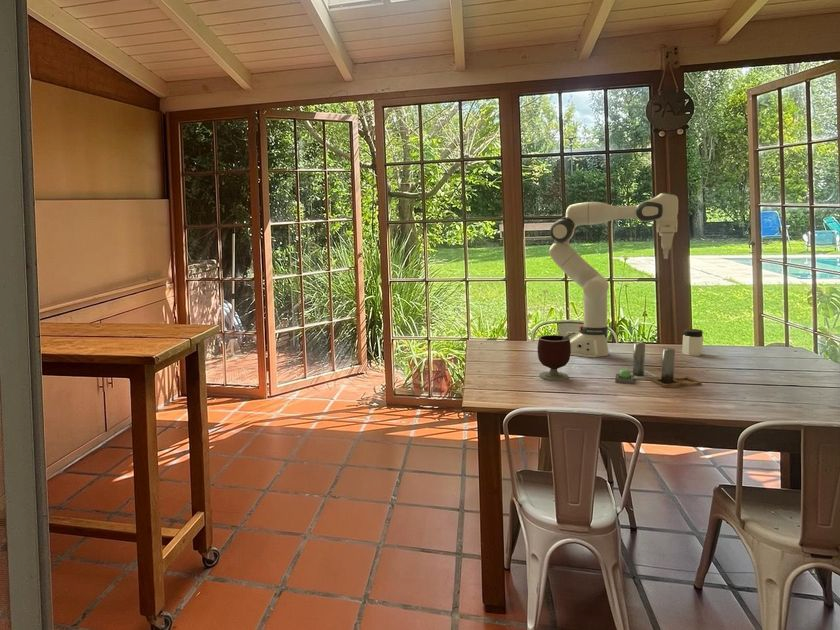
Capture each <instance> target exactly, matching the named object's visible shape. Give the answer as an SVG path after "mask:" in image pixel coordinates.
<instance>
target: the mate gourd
mask: <svg viewBox="0 0 840 630" xmlns="http://www.w3.org/2000/svg"><path fill="white" fill-rule="evenodd" d="M573 335H576V331H574V332H570V333H568V334H566V335H561V334H560V335H559V334H557V335H556V334H548V335H547V334H546V335H541V336H539V337H538V342H537V357H538V360H539V362H540V364H541V365H542V366H544V367H546V368H549V369H550V370H549V371H543V372H540V373H539V374H538V377H539V378H540V379H543V380H546V381H557V382H558V381H564V380H568V379H569V374H568V373H565V372H562V371H558V369H560V368H563V367H566V366H567V364H568V363H569V361H570V358H571V355H570V354H571V344H570V339H571V338H570V337H571V336H573Z"/></svg>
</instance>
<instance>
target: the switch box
mask: <svg viewBox="0 0 840 630" xmlns="http://www.w3.org/2000/svg"><path fill="white" fill-rule="evenodd" d="M634 377H635V375H633V374H630V378H620V373H615V377H614V378H615V380H614V382H615V383H617V384H629V385H634V384H635V379H634Z"/></svg>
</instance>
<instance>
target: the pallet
mask: <svg viewBox="0 0 840 630" xmlns="http://www.w3.org/2000/svg"><path fill="white" fill-rule="evenodd" d="M650 382H651V383H653V384H656V385H657V386H660V387H661V388H665V389H666V388H681V387H692V386H693V387H695V386H697V387H698V386H703V382H702V381H699V380H697V379H694V378H692V377H690V376H688V375H687V376H678V377H677V376H676V377H675V376H674V379H673V383H670V384H664V383H662V382H661V377H660V378H659V377H655V378H650Z"/></svg>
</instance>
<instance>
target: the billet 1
mask: <svg viewBox="0 0 840 630" xmlns="http://www.w3.org/2000/svg"><path fill="white" fill-rule="evenodd" d="M645 355H646V343H645V342H639V341H638V342H634V343H633V354H632V356H633V359H632V370H633V372H632V375H634V377H644V376H645V372H644V370H645V361H646V360H645V358H646V356H645Z"/></svg>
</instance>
